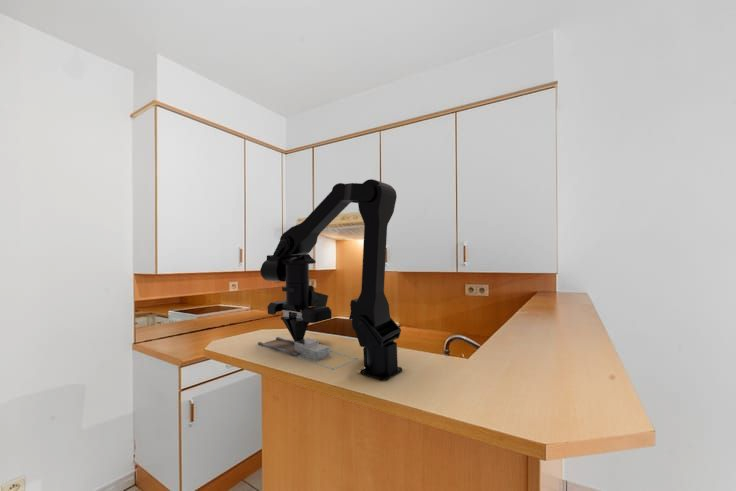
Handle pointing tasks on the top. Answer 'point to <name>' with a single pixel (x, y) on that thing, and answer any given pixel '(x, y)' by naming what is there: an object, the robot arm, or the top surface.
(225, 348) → the top surface
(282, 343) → the slot board
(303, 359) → the tray
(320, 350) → the near chip
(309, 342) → the pale grey block
